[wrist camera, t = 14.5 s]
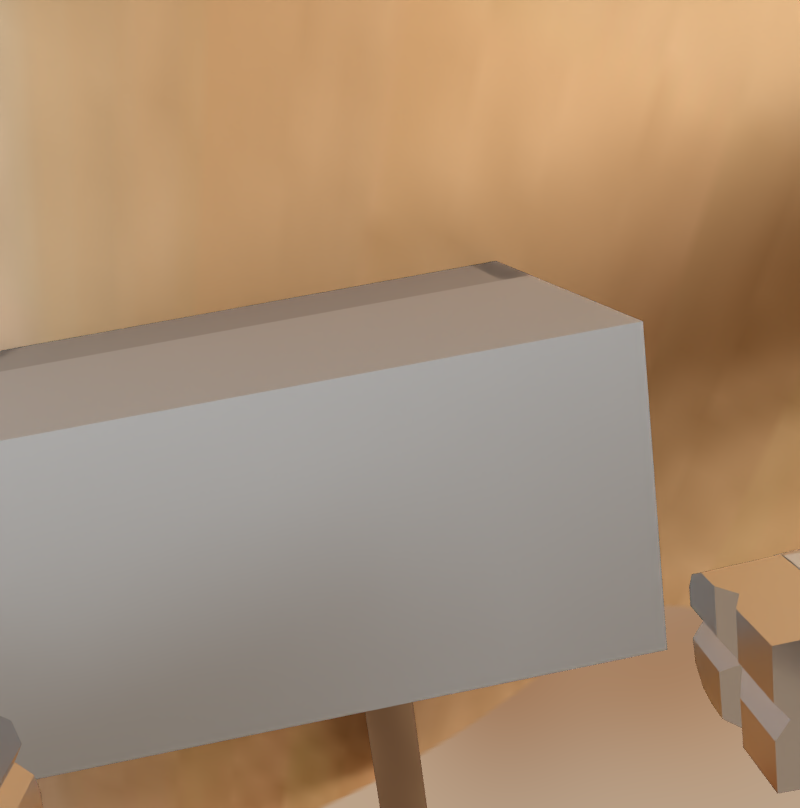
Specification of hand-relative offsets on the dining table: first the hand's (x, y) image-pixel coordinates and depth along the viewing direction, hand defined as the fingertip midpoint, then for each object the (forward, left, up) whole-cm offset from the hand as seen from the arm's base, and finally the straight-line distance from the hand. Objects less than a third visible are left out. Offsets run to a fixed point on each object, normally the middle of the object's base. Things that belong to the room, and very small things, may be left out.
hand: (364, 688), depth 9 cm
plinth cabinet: (+4, +5, -28) cm, 29 cm away
